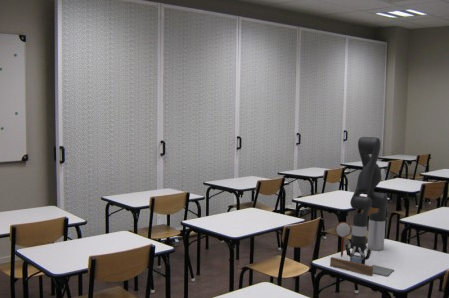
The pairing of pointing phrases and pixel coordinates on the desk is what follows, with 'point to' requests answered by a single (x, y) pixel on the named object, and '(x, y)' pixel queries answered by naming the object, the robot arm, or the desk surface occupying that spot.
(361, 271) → the bar
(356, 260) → the letter cube
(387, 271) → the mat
